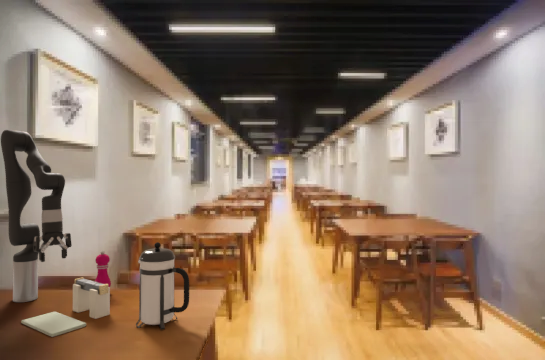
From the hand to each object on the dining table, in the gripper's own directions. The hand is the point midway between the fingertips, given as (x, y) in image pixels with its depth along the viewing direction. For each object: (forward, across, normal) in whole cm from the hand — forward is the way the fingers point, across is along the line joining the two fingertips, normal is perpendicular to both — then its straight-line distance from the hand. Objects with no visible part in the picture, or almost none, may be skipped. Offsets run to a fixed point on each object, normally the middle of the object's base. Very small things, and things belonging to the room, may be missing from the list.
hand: (53, 260), depth 161 cm
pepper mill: (+20, -22, -2) cm, 30 cm away
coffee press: (+24, -13, +49) cm, 56 cm away
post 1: (+20, -5, +11) cm, 24 cm away
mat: (+21, +10, +18) cm, 30 cm away
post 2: (+21, -5, +23) cm, 32 cm away
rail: (+12, -5, +18) cm, 22 cm away
